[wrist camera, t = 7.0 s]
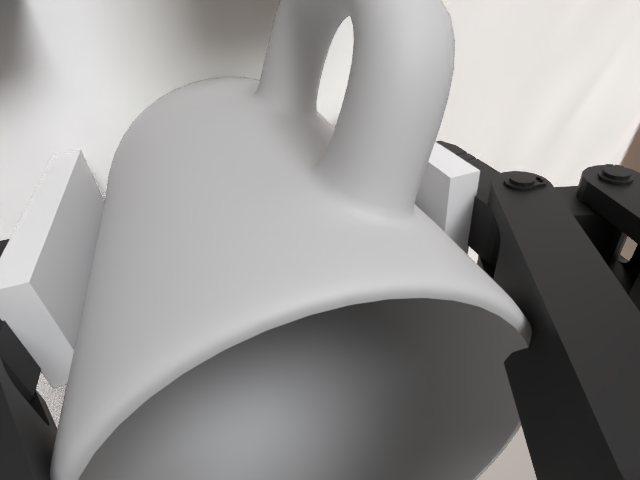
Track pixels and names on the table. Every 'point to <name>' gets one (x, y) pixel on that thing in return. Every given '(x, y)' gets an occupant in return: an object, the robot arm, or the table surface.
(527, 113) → the table surface
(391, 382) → the mug
